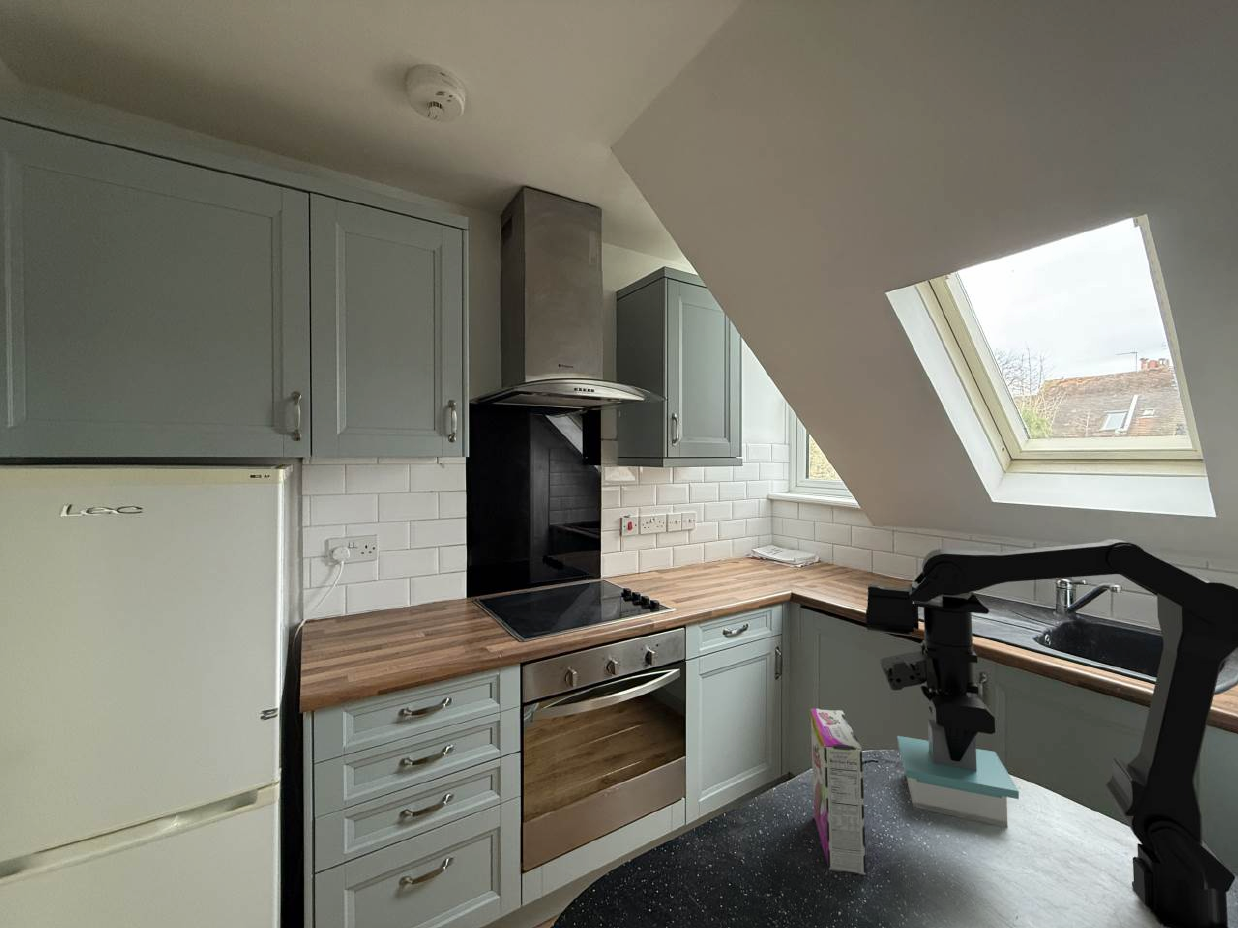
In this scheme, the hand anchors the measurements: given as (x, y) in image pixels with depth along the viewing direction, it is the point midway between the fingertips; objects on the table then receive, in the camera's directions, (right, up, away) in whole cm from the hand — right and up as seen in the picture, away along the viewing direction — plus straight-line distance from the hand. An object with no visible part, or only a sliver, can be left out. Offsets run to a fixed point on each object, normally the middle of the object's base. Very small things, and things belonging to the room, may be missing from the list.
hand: (952, 753), depth 70 cm
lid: (0, -3, 0) cm, 3 cm away
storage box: (+7, -13, +10) cm, 18 cm away
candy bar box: (-16, -13, 0) cm, 21 cm away
